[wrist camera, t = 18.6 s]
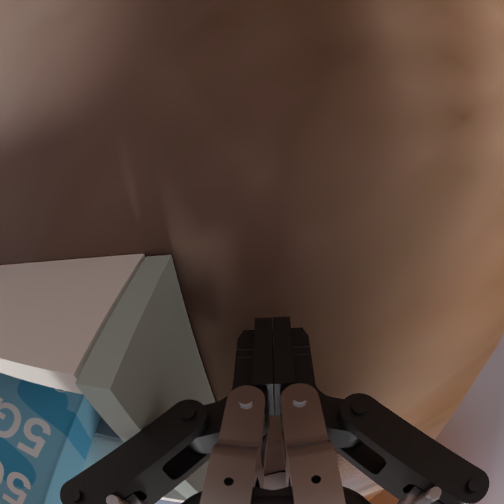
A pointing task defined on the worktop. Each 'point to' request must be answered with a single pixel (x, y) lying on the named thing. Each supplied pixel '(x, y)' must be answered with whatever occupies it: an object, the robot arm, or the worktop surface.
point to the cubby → (61, 322)
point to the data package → (41, 440)
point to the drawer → (146, 360)
